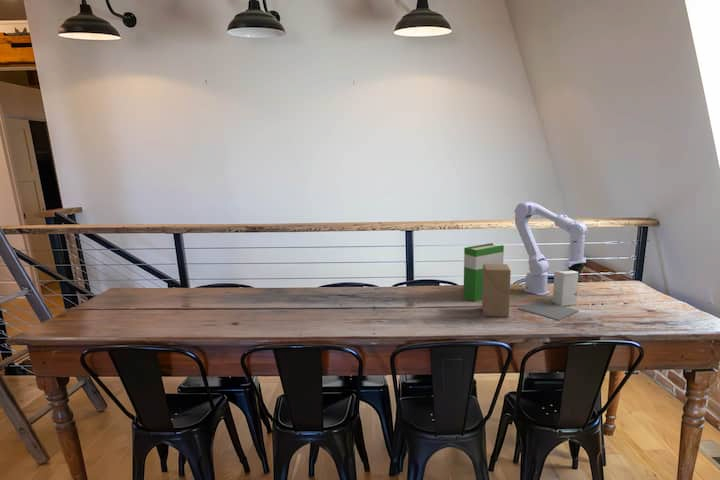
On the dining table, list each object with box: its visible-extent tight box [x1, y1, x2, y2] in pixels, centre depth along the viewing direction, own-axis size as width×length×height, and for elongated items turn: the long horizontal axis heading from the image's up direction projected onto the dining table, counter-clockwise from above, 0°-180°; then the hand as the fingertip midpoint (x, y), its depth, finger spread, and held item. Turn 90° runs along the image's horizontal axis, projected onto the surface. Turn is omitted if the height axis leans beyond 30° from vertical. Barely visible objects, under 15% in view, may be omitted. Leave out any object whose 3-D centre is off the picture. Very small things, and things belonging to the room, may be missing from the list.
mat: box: [518, 299, 580, 322], centre depth 184 cm, size 18×16×1 cm
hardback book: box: [463, 242, 505, 303], centre depth 203 cm, size 18×7×24 cm, turn 120°
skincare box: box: [552, 269, 579, 307], centre depth 190 cm, size 8×6×15 cm
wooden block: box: [481, 263, 512, 318], centre depth 181 cm, size 10×10×20 cm
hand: (574, 279), depth 195 cm, fingers closed
